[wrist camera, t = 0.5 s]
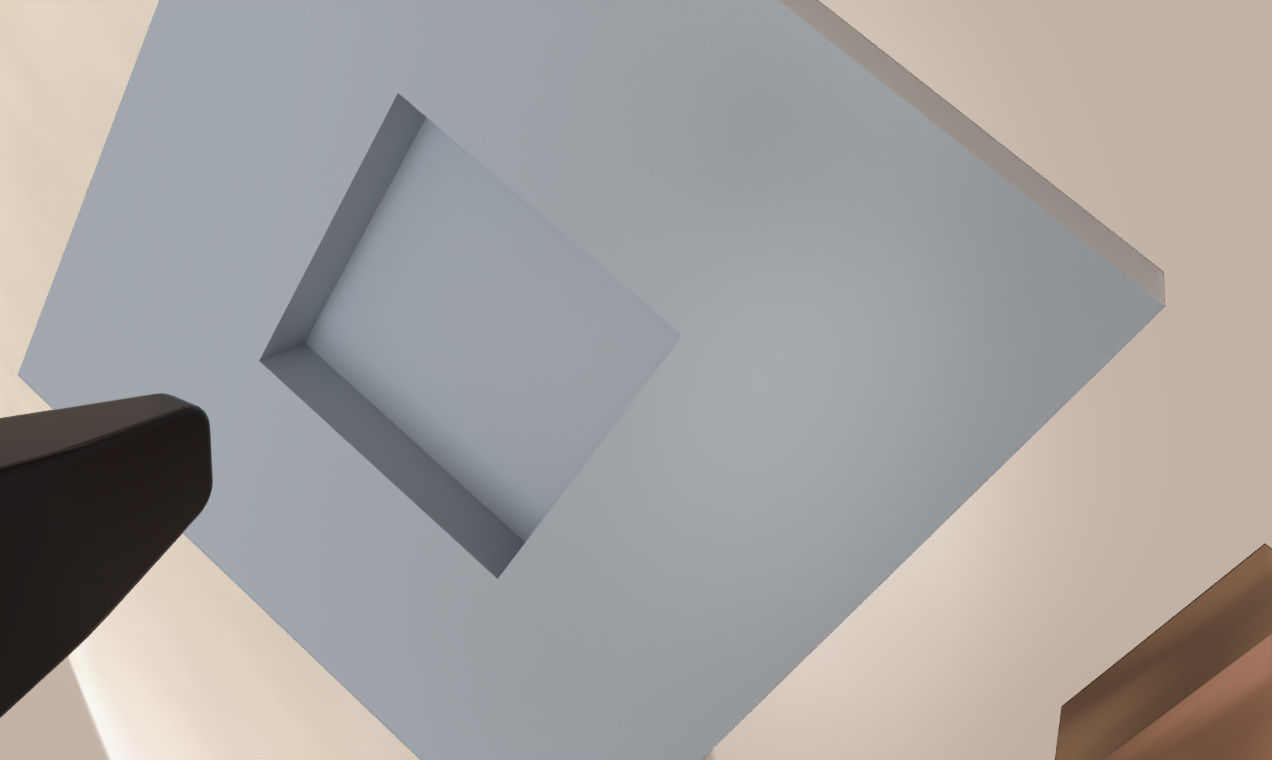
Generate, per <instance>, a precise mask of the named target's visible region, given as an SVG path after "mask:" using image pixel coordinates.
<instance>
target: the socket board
mask: <svg viewBox="0 0 1272 760" xmlns="http://www.w3.org/2000/svg"><path fill="white" fill-rule="evenodd" d="M1164 307H1165V293H1164V272H1163V271H1162V270H1161V269H1159V268H1158V267H1157V266H1156V265H1154V264H1153V263H1152V262H1151V261H1149V260H1148V259H1147V258H1145V257H1144V256H1143V255H1142V254H1140V253H1139V252H1138V251H1137V250H1135V249H1134V248H1133V247H1131V246H1130V245H1129V244H1128V243H1126V242H1125V241H1124V240H1122V239H1121V238H1120V237H1119V236H1117V235H1116V234H1115V233H1113V232H1112V231H1111V230H1109V228H1107V227H1106V226H1105V225H1103V224H1102V223H1101V222H1100V221H1098V220H1097V219H1096V218H1095V217H1093V216H1092V215H1091V214H1089V213H1088V212H1087V211H1086V210H1084V209H1083V208H1082V207H1081V206H1079V205H1078V204H1077V203H1076V202H1074V201H1073V200H1072V199H1070V198H1069V197H1068V196H1067V195H1065V194H1064V193H1063V192H1062V191H1060V190H1059V189H1058V188H1056V187H1055V186H1054V185H1053V184H1051V183H1050V182H1049V181H1048V180H1046V179H1045V178H1044V177H1042V176H1041V175H1040V174H1039V173H1037V172H1036V171H1035V170H1033V169H1032V168H1031V167H1030V166H1028V165H1027V164H1026V163H1024V162H1023V161H1022V160H1021V159H1019V158H1018V157H1017V156H1016V155H1014V154H1013V153H1012V152H1011V151H1009V150H1008V149H1007V148H1005V147H1004V146H1003V145H1002V144H1000V143H999V142H998V141H997V140H995V139H994V138H993V137H992V136H990V135H989V134H987V132H985V131H984V130H982V129H981V128H980V127H979V126H978V125H976V124H975V123H974V122H972V121H971V120H970V119H969V118H967V117H966V116H965V115H963V114H962V113H961V112H960V111H959V110H957V109H956V108H955V107H953V106H952V105H951V104H949V103H948V102H947V101H945V100H944V99H943V98H942V97H941V96H939V95H938V94H937V93H935V92H934V91H933V90H932V89H931V88H929V87H928V86H927V85H925V84H924V83H923V82H922V81H920V80H919V79H918V78H917V77H915V76H914V75H913V74H911V73H910V72H909V71H907V70H906V69H905V68H904V67H903V66H901V65H900V64H899V63H897V62H896V61H895V60H894V59H892V58H891V57H890V56H889V55H887V54H886V53H885V52H884V51H882V50H881V49H879V48H878V47H877V46H876V45H874V44H873V43H872V42H871V41H870V40H868V39H867V38H866V37H864V36H863V35H862V34H861V33H859V32H858V31H857V30H855V29H854V28H853V27H851V26H850V25H849V24H848V23H847V22H845V21H844V20H842V18H840V17H839V16H838V15H836V14H835V13H834V12H833V11H831V10H830V9H829V8H828V7H826V6H825V5H824V4H822V3H821V2H820V1H819V0H159V2H158V5H157V8H156V10H155V13H154V16H153V18H152V21H151V24H150V26H149V29H148V32H147V34H146V37H145V40H144V42H143V45H142V47H141V50H140V53H139V55H138V58H137V61H136V63H135V66H134V69H133V71H132V74H131V77H130V79H129V82H128V85H127V87H126V90H125V92H124V95H123V98H122V100H121V103H120V106H119V108H118V111H117V114H116V116H115V119H114V122H113V124H112V127H111V130H110V132H109V135H108V137H107V140H106V143H105V145H104V148H103V151H102V153H101V156H100V159H99V161H98V164H97V167H96V169H95V172H94V175H93V177H92V180H91V182H90V185H89V188H88V190H87V193H86V196H85V198H84V201H83V204H82V206H81V209H80V212H79V214H78V217H77V220H76V222H75V225H74V227H73V230H72V233H71V235H70V238H69V241H68V243H67V246H66V249H65V251H64V254H63V257H62V259H61V262H60V265H59V267H58V270H57V272H56V275H55V278H54V280H53V283H52V286H51V288H50V291H49V294H48V296H47V299H46V302H45V304H44V307H43V310H42V312H41V315H40V317H39V320H38V323H37V325H36V328H35V331H34V333H33V336H32V339H31V341H30V344H29V347H28V349H27V352H26V355H25V357H24V360H23V362H22V365H21V368H20V370H19V373H18V376H19V377H20V378H21V379H22V380H23V381H24V382H25V383H26V384H27V385H28V386H29V387H30V388H31V389H32V390H33V391H34V392H36V393H37V394H38V395H39V396H40V397H41V398H42V399H43V400H44V401H45V402H46V403H47V404H48V405H49V406H50V407H51V408H52V409H53V410H55V409H61V408H67V407H74V406H80V405H86V404H93V403H99V402H105V401H112V400H118V399H124V398H131V397H137V396H143V395H150V394H157V393H165V394H169V395H173V396H175V397H178V398H180V399H183V400H185V401H187V402H190V403H192V404H194V405H197V406H199V407H200V408H201V409H203V410H204V411H205V413H206V414H207V416H208V418H209V422H210V433H211V454H212V475H213V487H212V491H211V495H210V498H209V500H208V502H207V504H206V506H205V507H204V509H203V510H202V512H201V513H200V514H199V515H198V517H197V518H196V519H195V520H194V521H193V522H192V523H191V524H190V525H189V527H188V528H187V529H186V530H185V531H184V532H183V534H184V535H185V536H186V537H187V538H188V539H190V540H191V541H192V542H193V543H194V544H195V545H196V546H197V547H198V548H199V549H200V550H201V551H202V552H203V553H204V554H205V555H206V556H207V557H208V558H209V559H210V560H212V561H213V562H214V563H215V564H216V565H217V566H218V567H219V568H220V569H221V570H222V571H223V572H224V573H225V574H226V575H227V576H228V577H229V578H230V579H231V580H232V581H234V582H235V583H236V584H237V585H238V586H239V587H240V588H241V589H242V590H243V591H244V592H245V593H246V594H247V595H248V596H249V597H250V598H251V599H252V600H253V601H254V602H256V603H257V604H258V605H259V606H260V607H261V608H262V609H263V610H264V611H265V612H266V613H267V614H268V615H269V616H270V617H271V618H272V619H273V620H274V621H275V622H276V623H278V624H279V625H280V626H281V627H282V628H283V629H284V630H285V631H286V632H287V633H288V634H289V635H290V636H291V637H292V638H293V639H294V640H295V641H296V642H297V643H298V644H300V645H301V646H302V647H303V648H304V649H305V650H306V651H307V652H308V653H309V654H310V655H311V656H312V657H313V658H314V659H315V660H316V661H317V662H318V663H319V664H320V665H322V666H323V667H324V668H325V669H326V670H327V671H328V672H329V673H330V674H331V675H332V676H333V677H334V678H335V679H336V680H337V681H338V682H339V683H340V684H341V685H342V686H344V687H345V688H346V689H347V690H348V691H349V692H350V693H351V694H352V695H353V696H354V697H355V698H356V699H357V700H358V701H359V702H360V703H361V704H362V705H363V706H364V707H366V708H367V709H368V710H369V711H370V712H371V713H372V714H373V715H374V716H375V717H376V718H377V719H378V720H379V721H380V722H381V723H382V724H383V725H384V726H385V727H386V728H387V729H389V730H390V731H391V732H392V733H393V734H394V735H395V736H396V737H397V738H398V739H399V740H400V741H401V742H402V743H403V744H404V745H405V746H406V747H407V748H408V749H409V750H411V751H412V752H413V753H414V754H415V755H416V756H417V757H418V758H419V759H420V760H702V759H703V758H704V757H705V756H706V755H707V754H708V753H709V752H710V751H711V750H712V749H713V748H714V747H715V746H716V745H717V744H718V743H719V742H720V741H721V740H722V739H723V738H724V737H725V736H726V735H727V734H728V733H729V732H730V731H731V730H732V729H733V728H734V727H735V726H736V725H737V724H738V723H739V722H740V721H741V720H743V719H744V717H745V716H747V714H749V713H750V712H751V711H752V710H753V709H754V708H755V707H756V706H757V705H758V704H759V703H760V702H761V701H762V700H763V699H764V698H765V697H766V696H767V695H768V694H769V693H770V692H771V691H772V690H773V689H774V688H775V687H776V686H777V685H778V684H779V683H780V682H781V681H782V680H783V679H784V678H785V677H787V676H788V674H790V673H791V672H792V671H793V670H794V669H795V668H796V667H797V666H798V665H799V664H800V663H801V662H802V661H803V660H804V659H805V658H806V657H807V656H808V655H809V654H810V653H811V652H812V651H813V650H814V649H815V648H816V647H817V646H818V645H819V644H820V643H821V642H822V641H823V640H824V639H825V638H826V637H827V636H828V635H829V634H830V633H832V632H833V631H834V630H835V628H837V627H838V626H839V625H840V624H841V623H842V622H843V621H844V620H845V619H846V618H847V617H848V616H849V615H850V614H851V613H852V612H853V611H854V610H855V609H856V608H857V607H858V606H859V605H860V604H861V603H862V602H863V601H864V600H865V599H866V598H867V597H868V596H869V595H870V594H871V593H872V592H873V591H874V590H875V589H877V587H879V586H880V585H881V584H882V583H883V582H884V580H886V579H887V578H888V577H889V576H890V575H891V574H892V573H893V572H894V571H895V570H896V569H897V568H898V567H899V566H900V565H901V564H902V563H903V562H904V561H905V560H906V559H907V558H908V557H909V556H910V555H911V554H912V553H913V552H914V551H915V550H916V549H917V548H918V547H919V546H920V545H922V543H924V541H926V540H927V539H928V538H929V537H930V536H931V535H932V534H933V533H934V532H935V531H936V530H937V529H938V528H939V527H940V526H941V525H942V524H943V523H944V522H945V521H946V520H947V519H948V518H949V517H950V516H951V515H952V514H953V513H954V512H955V511H956V510H957V509H958V508H959V507H960V506H961V505H962V504H963V503H964V502H965V501H966V500H968V499H969V498H970V497H971V496H972V495H973V494H974V493H975V492H976V491H977V490H978V489H979V488H980V487H981V486H982V485H983V484H984V483H985V482H986V481H987V480H988V479H989V478H990V477H991V476H992V475H993V474H994V473H995V472H996V471H997V470H998V469H999V468H1000V467H1001V466H1002V465H1003V464H1004V463H1005V462H1006V461H1007V460H1008V459H1009V458H1010V457H1011V456H1013V454H1015V453H1016V452H1017V451H1018V450H1019V449H1020V448H1021V447H1022V446H1023V445H1024V444H1025V443H1026V442H1027V441H1028V440H1029V439H1030V438H1031V437H1032V436H1033V435H1034V434H1035V433H1036V432H1037V431H1038V430H1039V429H1040V428H1041V427H1042V426H1043V425H1044V424H1045V423H1046V422H1047V421H1048V420H1049V419H1050V418H1051V417H1052V416H1053V415H1054V414H1055V413H1056V412H1058V410H1059V409H1061V408H1062V407H1063V406H1064V405H1065V404H1066V403H1067V402H1068V401H1069V400H1070V399H1071V398H1072V397H1073V396H1074V395H1075V394H1076V393H1077V392H1078V391H1079V390H1080V389H1081V388H1082V387H1083V386H1084V385H1085V384H1086V383H1087V382H1088V381H1089V380H1090V379H1091V378H1092V377H1093V376H1094V375H1095V374H1096V373H1097V372H1098V371H1099V370H1101V368H1103V367H1104V366H1105V365H1106V364H1107V363H1108V362H1109V361H1110V360H1111V359H1112V358H1113V357H1114V356H1115V355H1116V354H1117V353H1118V352H1119V351H1120V350H1121V349H1122V348H1123V347H1124V346H1125V345H1126V344H1127V343H1128V342H1129V341H1130V340H1131V339H1132V338H1133V337H1134V336H1135V335H1136V334H1137V333H1138V332H1139V331H1140V330H1141V329H1142V328H1143V327H1144V326H1145V325H1147V324H1148V323H1149V322H1150V321H1151V320H1152V319H1153V317H1155V316H1156V315H1157V314H1158V313H1159V312H1160V311H1161V310H1162V309H1163V308H1164Z"/></svg>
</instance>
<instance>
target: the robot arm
mask: <svg viewBox="0 0 1272 760" xmlns="http://www.w3.org/2000/svg"><path fill="white" fill-rule="evenodd" d="M212 487H213V475H212V454H211V433H210V422H209V418H208V416H207V414H206V413H205V411H204V410H203V409H201V408H200V407H199V406H197V405H194V404H192V403H190V402H187V401H185V400H183V399H180V398H178V397H175V396H173V395H169V394H165V393H157V394H150V395H143V396H137V397H131V398H124V399H118V400H112V401H105V402H99V403H93V404H86V405H80V406H74V407H67V408H61V409H55V410H49V411H42V412H36V413H30V414H23V415H17V416H11V417H4V418H0V718H1V717H2V716H3V715H4V714H5V713H6V712H8V711H9V710H10V709H11V708H12V707H13V706H14V705H15V704H16V703H17V702H19V701H20V700H21V699H22V698H23V697H24V696H25V695H26V694H27V693H28V692H29V691H30V690H31V689H33V688H34V687H35V686H36V685H37V684H38V683H39V682H40V681H41V680H42V679H44V678H45V677H46V676H47V675H48V674H49V673H50V672H51V671H52V670H53V669H54V668H56V667H57V666H58V665H59V664H60V663H61V662H62V661H63V660H64V659H65V658H67V657H68V656H69V655H70V654H71V653H72V652H73V651H74V650H75V649H76V648H77V647H78V646H79V645H80V644H81V643H82V642H83V641H84V640H85V639H86V638H87V637H88V636H89V635H90V634H91V633H92V632H93V631H94V630H95V629H96V628H97V627H98V626H99V625H100V624H101V623H102V622H103V620H104V619H105V618H106V617H107V616H108V615H109V614H110V613H111V612H112V611H113V610H114V609H115V607H116V606H117V605H118V604H119V603H120V602H121V601H122V600H123V599H124V597H125V596H126V595H127V594H128V593H129V592H130V591H131V590H132V589H133V588H134V586H135V585H136V584H137V583H138V582H139V581H140V580H141V579H142V578H143V576H144V575H145V574H146V573H147V572H148V571H149V570H150V569H151V568H152V566H153V565H154V564H155V563H156V562H157V561H158V560H159V559H160V558H161V556H162V555H163V554H164V553H165V552H166V551H167V550H168V549H169V548H170V546H171V545H172V544H173V543H174V542H175V541H176V540H177V539H178V538H179V537H180V535H181V534H182V533H183V532H184V531H185V530H186V529H187V528H188V527H189V525H190V524H191V523H192V522H193V521H194V520H195V519H196V518H197V517H198V515H199V514H200V513H201V512H202V510H203V509H204V507H205V506H206V504H207V502H208V500H209V498H210V495H211V491H212Z"/></svg>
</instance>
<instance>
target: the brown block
mask: <svg viewBox="0 0 1272 760" xmlns="http://www.w3.org/2000/svg"><path fill="white" fill-rule="evenodd" d="M1055 760H1272V548H1271V547H1269V546H1268V545H1267V544H1266V543H1265V544H1263V545H1262V546H1261V547H1260V548H1258V549H1257V550H1256V551H1255V552H1253V553H1252V554H1251V555H1250V556H1248V557H1247V558H1246V559H1245V560H1243V561H1242V562H1241V563H1240V564H1238V565H1237V566H1236V567H1235V568H1233V569H1232V570H1231V571H1230V572H1228V573H1227V574H1226V575H1225V576H1223V577H1222V578H1221V579H1220V580H1218V581H1217V582H1216V583H1215V584H1213V585H1212V586H1211V587H1210V588H1208V589H1207V590H1206V591H1205V592H1203V593H1202V594H1201V595H1200V596H1199V597H1197V598H1196V599H1195V600H1193V601H1192V602H1191V603H1190V604H1188V605H1187V606H1186V607H1185V608H1183V609H1182V610H1181V611H1180V612H1178V613H1177V614H1176V615H1175V616H1173V617H1172V618H1171V619H1170V620H1168V621H1167V622H1166V623H1165V624H1163V625H1162V626H1161V627H1160V628H1158V629H1157V630H1156V631H1155V632H1154V633H1152V634H1151V635H1150V636H1148V637H1147V638H1146V639H1145V640H1144V641H1142V642H1141V643H1140V644H1139V645H1137V646H1136V647H1135V648H1134V649H1132V650H1131V651H1130V652H1128V653H1127V654H1126V655H1125V656H1124V657H1122V658H1121V659H1120V660H1119V661H1117V662H1116V663H1115V664H1114V665H1113V666H1111V667H1110V668H1109V669H1107V670H1106V671H1105V672H1104V673H1102V674H1101V675H1100V676H1099V677H1097V678H1096V679H1095V680H1094V681H1092V682H1091V683H1090V684H1089V685H1087V686H1086V687H1085V688H1084V689H1082V690H1081V691H1080V692H1079V693H1078V694H1076V695H1075V696H1074V697H1072V698H1071V699H1070V700H1069V701H1067V702H1066V703H1065V704H1064V705H1062V708H1061V715H1060V724H1059V732H1058V739H1057V747H1056V755H1055Z"/></svg>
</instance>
